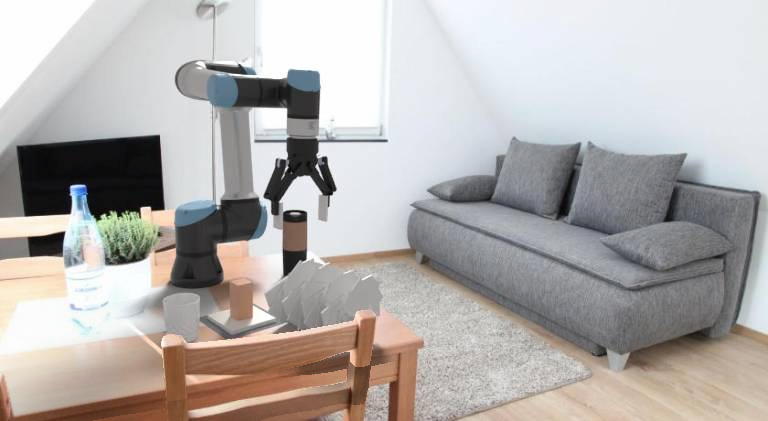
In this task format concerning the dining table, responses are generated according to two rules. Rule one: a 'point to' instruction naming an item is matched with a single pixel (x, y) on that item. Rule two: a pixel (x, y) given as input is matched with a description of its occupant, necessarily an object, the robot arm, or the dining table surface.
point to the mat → (229, 336)
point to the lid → (241, 310)
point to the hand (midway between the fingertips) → (301, 224)
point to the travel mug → (294, 239)
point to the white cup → (182, 315)
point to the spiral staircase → (321, 296)
